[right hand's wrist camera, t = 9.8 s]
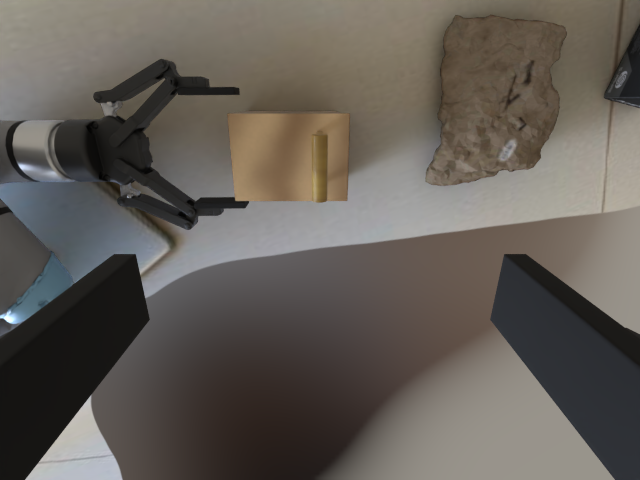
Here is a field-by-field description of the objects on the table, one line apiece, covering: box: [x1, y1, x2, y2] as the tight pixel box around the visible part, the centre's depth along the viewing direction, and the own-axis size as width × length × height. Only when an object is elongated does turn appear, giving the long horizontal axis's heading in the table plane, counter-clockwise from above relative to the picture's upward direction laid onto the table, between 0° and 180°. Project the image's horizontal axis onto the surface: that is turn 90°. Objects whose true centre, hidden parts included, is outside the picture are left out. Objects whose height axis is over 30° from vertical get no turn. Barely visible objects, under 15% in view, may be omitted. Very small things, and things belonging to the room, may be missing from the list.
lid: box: [227, 113, 350, 202], centre depth 38 cm, size 14×10×8 cm
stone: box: [426, 15, 567, 186], centre depth 46 cm, size 21×15×6 cm
